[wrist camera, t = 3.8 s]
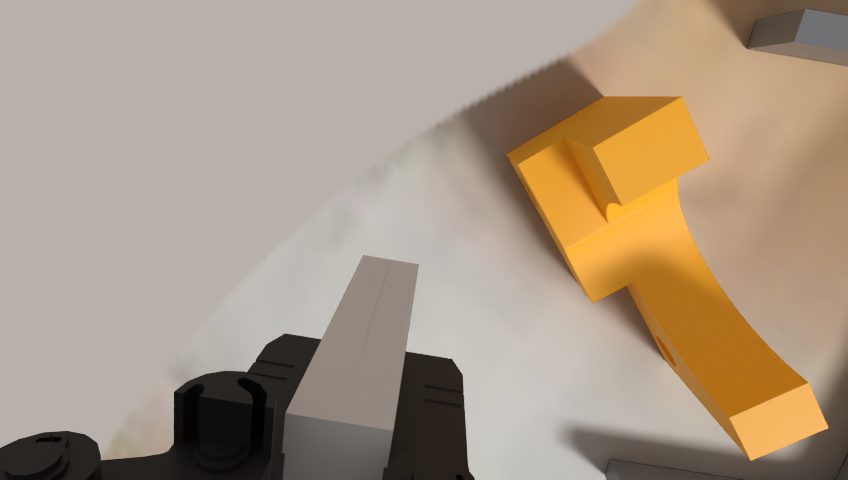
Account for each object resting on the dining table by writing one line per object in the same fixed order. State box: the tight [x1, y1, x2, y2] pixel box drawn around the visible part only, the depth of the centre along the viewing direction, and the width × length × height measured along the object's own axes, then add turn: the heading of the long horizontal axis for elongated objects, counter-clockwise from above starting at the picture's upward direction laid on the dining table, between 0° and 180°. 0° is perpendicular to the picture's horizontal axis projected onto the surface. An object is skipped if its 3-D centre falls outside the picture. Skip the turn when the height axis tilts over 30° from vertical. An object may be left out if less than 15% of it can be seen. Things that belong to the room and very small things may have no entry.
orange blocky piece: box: [506, 97, 828, 461], centre depth 18 cm, size 12×4×6 cm, turn 31°
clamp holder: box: [605, 9, 848, 480], centre depth 20 cm, size 12×21×3 cm, turn 171°
